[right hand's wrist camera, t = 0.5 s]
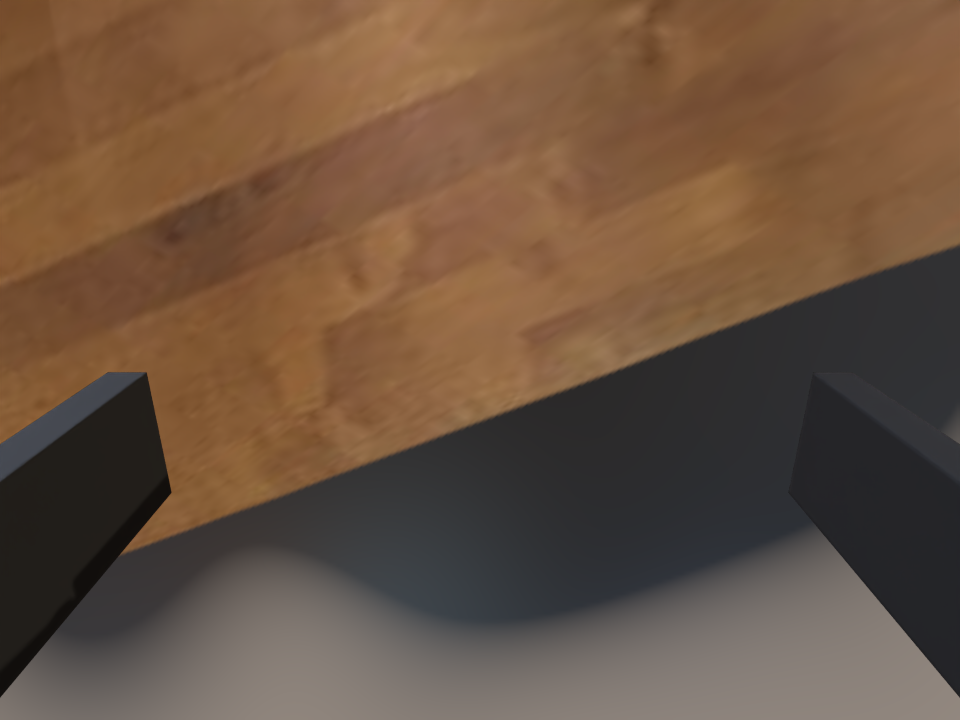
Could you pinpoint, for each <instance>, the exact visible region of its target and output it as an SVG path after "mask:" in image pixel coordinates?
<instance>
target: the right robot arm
mask: <svg viewBox="0 0 960 720" xmlns="http://www.w3.org/2000/svg"><path fill="white" fill-rule="evenodd" d="M170 494H171V488H170V483H169V478H168V473H167V468H166V464H165V459H164V454H163V449H162V444H161V439H160V435H159V430H158V425H157V420H156V415H155V410H154V406H153V401H152V396H151V391H150V386H149V381H148V377H147V372H108V373H106V374H105V375H103V376H102V377H100V378H99V379H97V380H96V381H94V382H93V383H91V384H90V385H88V386H87V387H85V388H84V389H82V390H81V391H79V392H78V393H76V394H75V395H73V396H72V397H70V398H69V399H67V400H66V401H64V402H63V403H61V404H60V405H58V406H57V407H55V408H54V409H52V410H51V411H49V412H48V413H46V414H45V415H43V416H42V417H40V418H39V419H37V420H36V421H34V422H33V423H31V424H30V425H28V426H27V427H25V428H24V429H22V430H21V431H19V432H18V433H16V434H15V435H13V436H12V437H10V438H9V439H7V440H6V441H4V442H3V443H1V444H0V697H1V696H2V695H3V694H4V692H5V691H6V690H7V689H8V688H9V686H10V685H11V684H12V683H13V682H14V680H15V679H16V678H17V677H18V676H19V674H20V673H21V672H22V671H23V670H24V668H25V667H26V666H27V665H28V664H29V662H30V661H31V660H32V659H33V658H34V656H35V655H36V654H37V653H38V652H39V650H40V649H41V648H42V647H43V646H44V644H45V643H46V642H47V641H48V640H49V639H50V637H51V636H52V635H53V634H54V633H55V631H56V630H57V629H58V628H59V627H60V625H61V624H62V623H63V622H64V621H65V619H66V618H67V617H68V616H69V615H70V613H71V612H72V611H73V610H74V609H75V607H76V606H77V605H78V604H79V603H80V601H81V600H82V599H83V598H84V597H85V595H86V594H87V593H88V592H89V591H90V589H91V588H92V587H93V586H94V585H95V584H96V582H97V581H98V580H99V579H100V578H101V576H102V575H103V574H104V573H105V572H106V570H107V569H108V568H109V567H110V566H111V564H112V563H113V562H114V561H115V560H116V558H117V557H118V556H119V555H120V554H121V552H122V551H123V550H124V549H125V548H126V546H127V545H128V544H129V543H130V542H131V540H132V539H133V538H134V537H135V536H136V535H137V533H138V532H139V531H140V530H141V529H142V527H143V526H144V525H145V524H146V523H147V521H148V520H149V519H150V518H151V517H152V515H153V514H154V513H155V512H156V511H157V509H158V508H159V507H160V506H161V505H162V503H163V502H164V501H165V500H166V499H167V497H168V496H169V495H170ZM789 494H790V495H791V496H792V497H793V499H794V500H795V501H796V502H797V503H798V505H799V506H800V507H801V508H802V509H803V511H804V512H805V513H806V514H807V515H808V517H809V518H810V519H811V520H812V521H813V523H814V524H815V525H816V526H817V527H818V529H819V530H820V531H821V532H822V533H823V535H824V536H825V537H826V538H827V539H828V540H829V542H830V543H831V544H832V545H833V546H834V548H835V549H836V550H837V551H838V552H839V554H840V555H841V556H842V557H843V558H844V560H845V561H846V562H847V563H848V564H849V566H850V567H851V568H852V569H853V570H854V572H855V573H856V574H857V575H858V576H859V578H860V579H861V580H862V581H863V582H864V583H865V585H866V586H867V587H868V588H869V590H870V591H871V592H872V593H873V594H874V595H875V597H876V598H877V599H878V600H879V601H880V603H881V604H882V605H883V606H884V607H885V609H886V610H887V611H888V612H889V613H890V615H891V616H892V617H893V618H894V619H895V621H896V622H897V623H898V624H899V625H900V627H901V628H902V629H903V630H904V631H905V633H906V634H907V635H908V636H909V637H910V638H911V640H912V641H913V642H914V643H915V644H916V646H917V647H918V648H919V649H920V650H921V652H922V653H923V654H924V655H925V656H926V658H927V659H928V660H929V661H930V662H931V664H932V665H933V666H934V667H935V668H936V670H937V671H938V672H939V673H940V674H941V676H942V677H943V678H944V679H945V680H946V682H947V683H948V684H949V685H950V686H951V688H952V689H953V690H954V691H955V692H956V694H957V695H958V696H959V697H960V444H959V443H957V442H956V441H954V440H953V439H951V438H950V437H948V436H946V435H945V434H944V433H942V432H941V431H939V430H938V429H936V428H935V427H933V426H932V425H930V424H929V423H927V422H926V421H924V420H923V419H921V418H920V417H918V416H917V415H915V414H914V413H912V412H911V411H909V410H908V409H906V408H905V407H903V406H902V405H900V404H899V403H897V402H896V401H894V400H893V399H891V398H890V397H888V396H887V395H885V394H884V393H882V392H881V391H879V390H878V389H876V388H875V387H873V386H872V385H870V384H869V383H867V382H866V381H864V380H863V379H861V378H860V377H858V376H857V375H855V374H854V373H852V372H851V373H850V372H841V373H840V372H832V373H830V372H829V373H828V372H825V373H824V372H820V373H819V372H818V373H816V372H815V373H813V377H812V381H811V386H810V391H809V396H808V401H807V406H806V411H805V415H804V420H803V425H802V430H801V435H800V440H799V444H798V449H797V454H796V459H795V464H794V468H793V473H792V478H791V483H790V488H789Z"/></svg>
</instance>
